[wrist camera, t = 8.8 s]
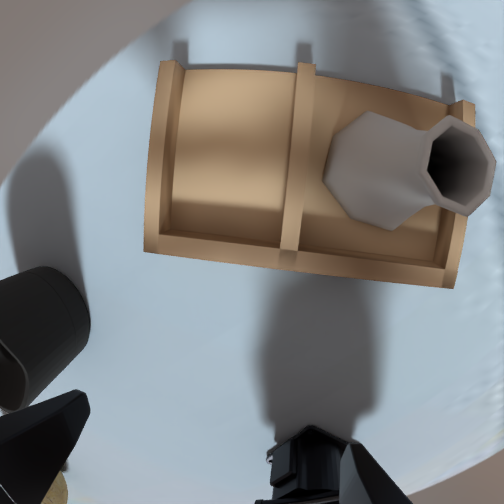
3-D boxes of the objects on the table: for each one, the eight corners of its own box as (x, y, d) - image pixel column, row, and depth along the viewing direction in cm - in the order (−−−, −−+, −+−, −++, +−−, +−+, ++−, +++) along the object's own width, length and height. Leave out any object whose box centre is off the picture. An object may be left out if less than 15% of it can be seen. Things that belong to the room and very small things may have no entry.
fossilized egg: (11, 434, 33) (-35, 482, 18) (35, 427, 30) (-21, 489, 15) (60, 485, 34) (24, 537, 20) (95, 486, 32) (55, 552, 17)
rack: (437, 276, 19) (453, 288, 17) (159, 243, 21) (143, 251, 19) (457, 110, 16) (475, 104, 14) (174, 73, 18) (160, 61, 16)
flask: (360, 92, 17) (418, 23, 7) (447, 160, 17) (550, 156, 7) (300, 185, 18) (313, 190, 9) (392, 249, 19) (470, 311, 9)
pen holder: (15, 303, 25) (-53, 341, 15) (43, 238, 22) (-45, 269, 13) (73, 371, 25) (14, 428, 16) (113, 318, 23) (37, 384, 13)
